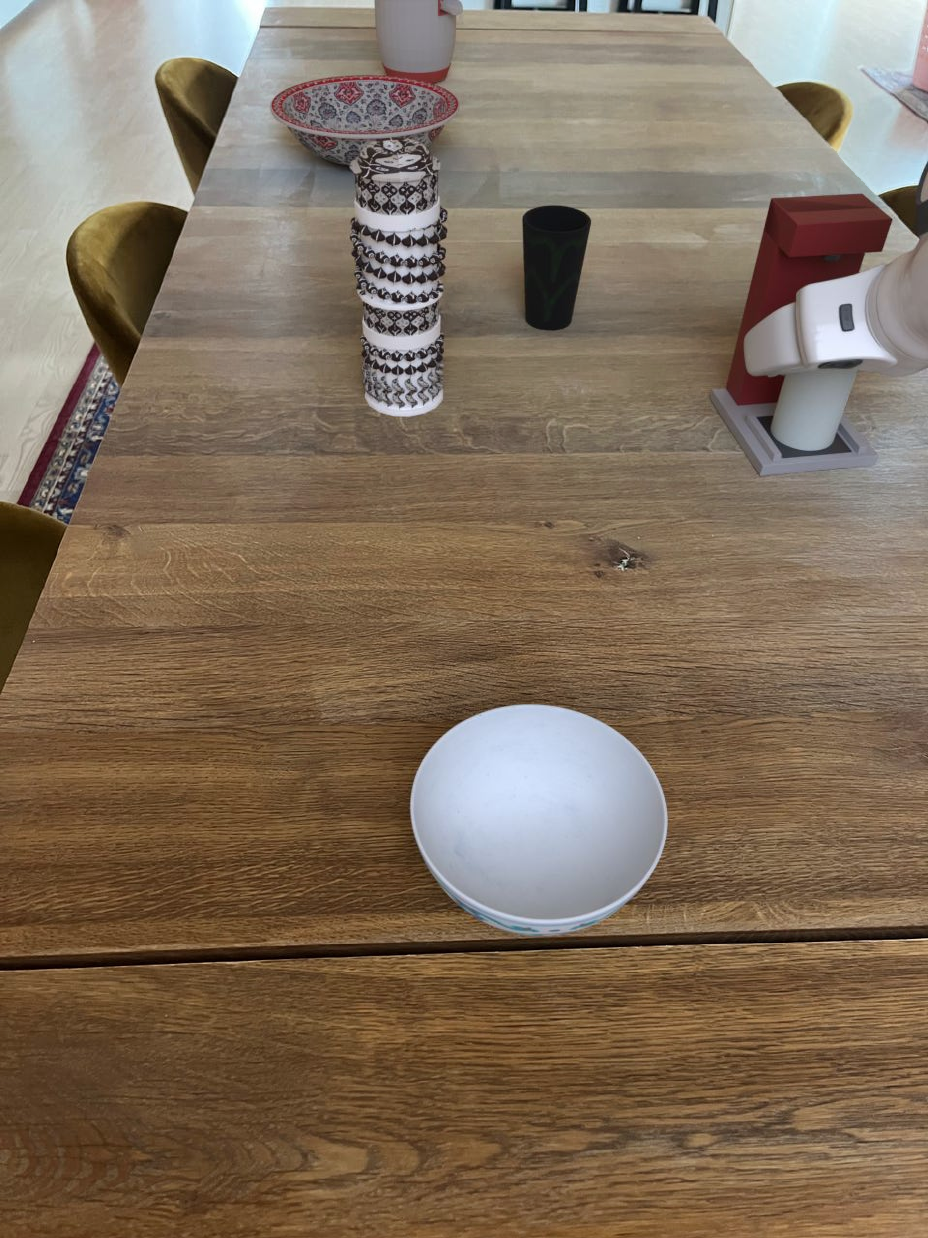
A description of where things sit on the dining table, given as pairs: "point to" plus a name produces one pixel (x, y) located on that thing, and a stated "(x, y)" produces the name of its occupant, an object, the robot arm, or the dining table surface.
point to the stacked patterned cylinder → (399, 274)
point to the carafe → (811, 408)
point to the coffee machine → (786, 262)
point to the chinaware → (538, 818)
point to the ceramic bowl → (362, 113)
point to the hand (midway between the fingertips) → (820, 364)
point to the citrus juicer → (416, 37)
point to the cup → (553, 263)
